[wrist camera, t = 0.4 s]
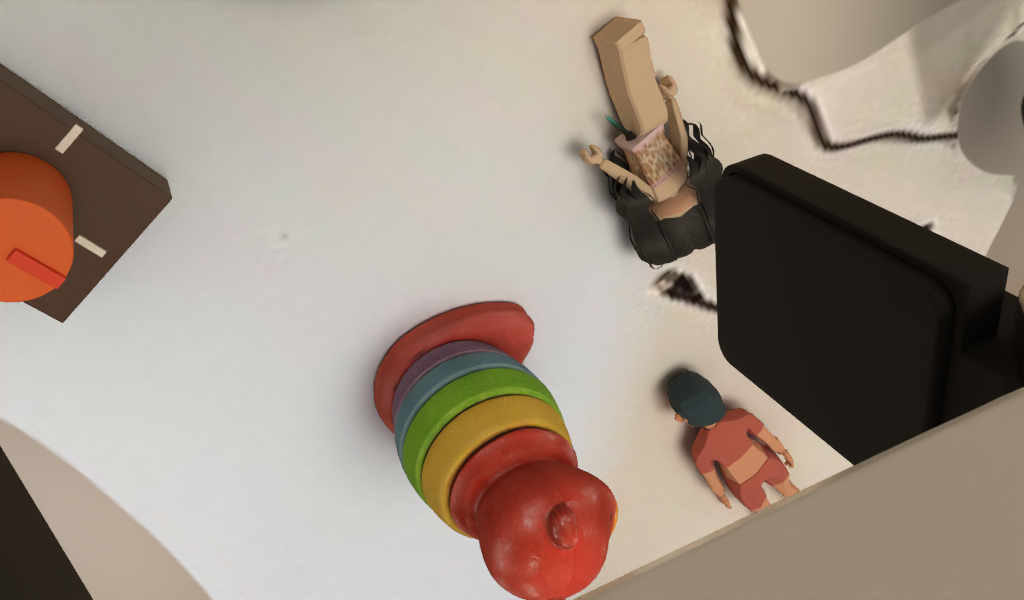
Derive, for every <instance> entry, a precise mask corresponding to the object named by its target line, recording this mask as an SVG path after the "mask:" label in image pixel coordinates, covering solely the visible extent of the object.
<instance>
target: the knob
mask: <svg viewBox="0 0 1024 600" xmlns="http://www.w3.org/2000/svg"><path fill="white" fill-rule="evenodd" d="M73 257H74V241H73V203H72V195H71V191H70V188H69V186H68V184H67V182H66V180H65V179H64V177H63V176H62V175H61V174H60V173H59V172H58V171H57V170H56V169H55V168H54V167H53V166H51V165H50V164H49V163H47V162H45V161H44V160H42V159H40V158H37V157H35V156H32V155H28V154H24V153H17V152H3V153H0V301H1V302H22V301H27V300H32V299H35V298H38V297H40V296H43V295H45V294H47V293H48V292H50V291H52V290H53V289H54V288H56V289H58V288H59V287H60V285H61V284H62V283H63V282H64V281H65V280H66V276H67V274H68V272H69V271H70V268H71V266H72V262H73Z"/></svg>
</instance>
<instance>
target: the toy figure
mask: <svg viewBox="0 0 1024 600" xmlns="http://www.w3.org/2000/svg"><path fill="white" fill-rule="evenodd" d="M644 33H645V28H644V26H643V24H642V22H641V20H637V19H630V18H623V17H616V18H615V19H613V20H612V21H611V22H610V23H609V24H608V25H606V26H605V27H604V28H603V29H602V30H600V31H599V32H598V33H597V34H596V35H594V36H593V40H594V42H595V44H596V46H597V47H598V50H599V54H600V59H601V63H602V67H603V72H604V76H605V80H606V84H607V87H608V89H609V94H610V96H611V99H612V101H613V104H614V106H615V108H616V111H617V113H618V115H619V118H620V120H621V122H622V124H623V126H624V127H625V128H623V127H622V126H621V125H619V124H618V123H617V122H615V121H614V120H613V119H612V118H610V117H609V116H607V115H605V116H606V118H607V119H608V120H609V121H610V122H611V124H612V125H613V126H614V127H615V128H616V129H618V130H619V131H620V132H621V133H622V134H620V135H619V136H618V137H617V138H616V139H615V140H614V141H615V143H616V144H617V145H618V146H619V147H620V148H621V149H623V150H624V152H625V155H626V158H627V159H626V158H625V157H624V156H622V155H621V154H620V153H618V152H617V151H616V152H617V153H618V154H619V155H621V156H622V157H623V158H625V159H626V161H627V160H628V161H627V167H626V163H625V162H623V161H622V160H621V159H619V158H618V157H617V156H616V155H615V149H614V150H613V151H611V152H610V157H609V160H606V159H603V158H602V156H603V155H602V151H601V150H600V149H599V148H598V147H597V146H595V145H589V148H590V150H591V152H592V153H593V155H591V156H590V155H589V153H588V151H587V150H586V149H584V150H580V156H581V158H582V160H583V161H584V162H585V163H587V164H589V165H593V164H599V168H600V169H602V171H603V172H604V173H605V174H606V175H607V177H608V178H609V175H610V176H611V177H612V189H613V194H614V195H615V197H616V198H617V199H616V198H615V197H614V196H613V194H612V193H611V190H610V180H609V190H610V194H611V195H612V197H613V198H614V199H615V200H616V211H617V213H618V214H619V215H620V216H622V217H623V218H625V220H626V221H627V220H628V221H627V222H628V224H629V223H630V225H631V228H632V232H633V239H634V244H635V246H634V244H633V242H632V240H631V237H630V240H631V242H632V244H633V246H634V249H635V250H636V251H637V254H638V256H639V258H640V259H641V260H642V261H645V262H647V263H649V265H650V267H652V265H651V264H654V265H661V267H662V265H663V264H665V263H671V262H673V261H675V260H677V258H681V257H684V256H687V255H689V254H691V253H692V252H693V250H694V249H699V250H700V249H703V248H706V247H708V246H710V245H711V244H713V243H714V244H715V218H714V187H715V184H716V182H717V181H718V180H720V179H721V176H722V171H723V167H722V164H721V163H720V161H719V160H718V159H716V158H714V149H713V147H712V145H711V143H710V142H709V141H708V140H707V139H706V138H705V137H704V136H703V132H702V125H701V123H700V129H701V135H702V136H703V137H704V138H705V139H706V140H707V142H708V143H709V144H710V146H711V147H712V151H713V157H712V152H711V149H710V148H709V146H708V145H707V144H706V143H705V142H703V141H702V140H701V139H700V131H699V128H698V126H697V125H696V124H693V123H687V122H686V121H685V120H684V119H682V116H681V113H680V110H679V107H678V104H677V101H676V99H674V97H673V96H674V95H676V93H677V90H678V89H677V84H676V82H675V80H674V79H673V78H672V77H671V76H670V75H667V76H665V77H663V78H661V79H660V82H661V84H660V85H658V84H657V82H656V79H655V75H654V70H653V64H652V59H651V54H650V49H649V43H648V38H647V37H646V36H645V35H643V34H644ZM664 100H667V102H666V104H665V102H664ZM667 118H668V123H669V130H670V142H669V141H668V140H667V138H666V137H665V135H664V134H663V133H664V132H665V130H664V123H665V122H666V121H667ZM689 125H693V136H694V137H695V138H696V140H697V141H698V142H699V143H698V142H696V141H695V140H693V139H692V138H691V137H690V136H689ZM689 150H690V151H691V152H693V153H694V159H692V155H691V153H690V151H689ZM688 151H689V154H690V156H691V157H689V156H688ZM610 161H611V162H610ZM628 163H629V166H630V169H631V172H632V173H630V172H629V170H628ZM688 163H689V169H690V171H689V170H688V171H689V176H688V172H687V166H688ZM608 174H609V175H608ZM629 234H630V226H629ZM652 268H653V267H652ZM659 268H660V267H659ZM653 269H655V268H653ZM657 269H658V268H657Z"/></svg>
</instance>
